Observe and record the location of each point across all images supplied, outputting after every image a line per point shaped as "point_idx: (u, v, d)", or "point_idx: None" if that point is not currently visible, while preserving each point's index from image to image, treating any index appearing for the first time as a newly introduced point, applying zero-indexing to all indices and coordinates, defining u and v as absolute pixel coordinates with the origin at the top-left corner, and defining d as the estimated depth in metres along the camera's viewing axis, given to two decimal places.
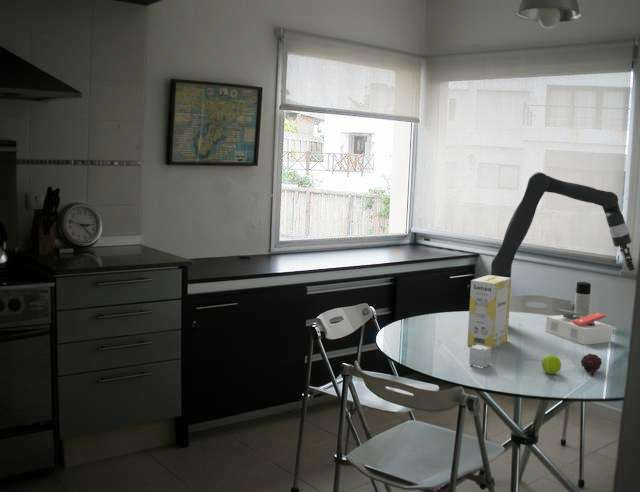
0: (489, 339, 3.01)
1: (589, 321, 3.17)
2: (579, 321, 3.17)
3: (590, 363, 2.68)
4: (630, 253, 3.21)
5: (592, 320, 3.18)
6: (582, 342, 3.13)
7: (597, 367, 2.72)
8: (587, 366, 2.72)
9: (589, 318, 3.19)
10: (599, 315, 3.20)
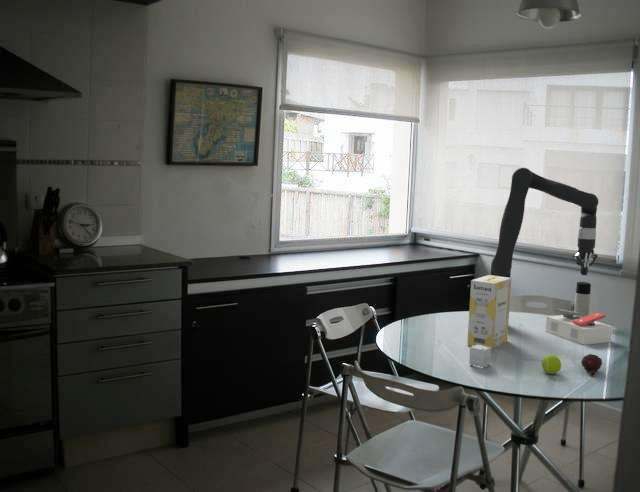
0: (489, 338, 3.01)
1: (589, 321, 3.17)
2: (579, 321, 3.17)
3: (590, 363, 2.68)
4: (584, 259, 3.27)
5: (592, 320, 3.18)
6: (582, 342, 3.13)
7: (597, 367, 2.71)
8: (587, 366, 2.71)
9: (589, 318, 3.19)
10: (599, 315, 3.20)
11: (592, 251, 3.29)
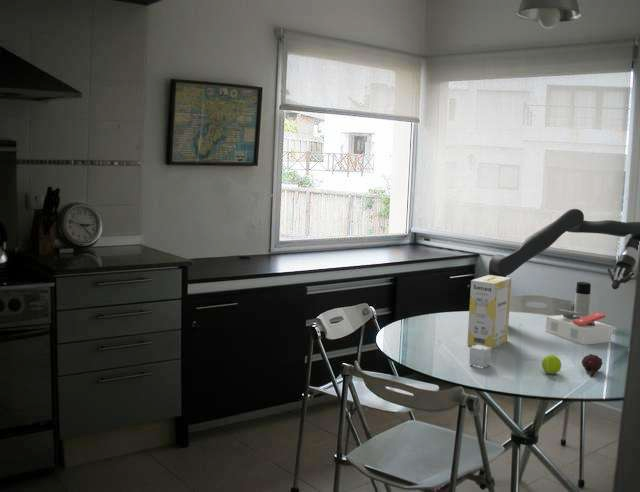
0: (489, 338, 3.01)
1: (589, 321, 3.17)
2: (579, 321, 3.17)
3: (590, 363, 2.68)
4: (615, 273, 3.32)
5: (592, 320, 3.18)
6: (582, 342, 3.13)
7: (598, 367, 2.71)
8: (587, 366, 2.71)
9: (589, 318, 3.19)
10: (599, 315, 3.20)
11: (628, 269, 3.30)
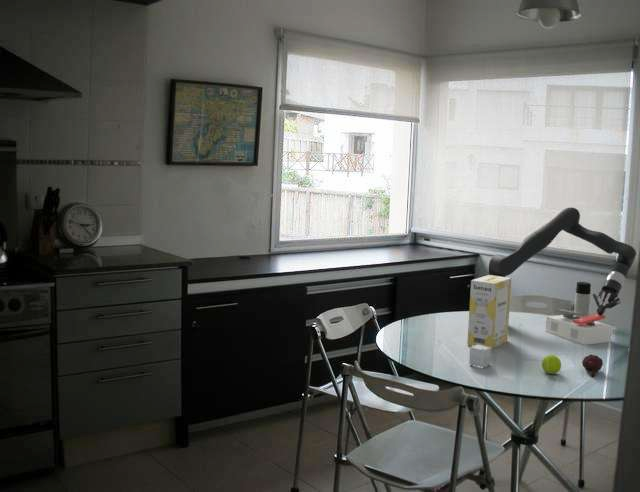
0: (489, 339, 3.01)
1: (589, 321, 3.17)
2: (579, 320, 3.17)
3: (590, 364, 2.67)
4: (601, 298, 3.25)
5: (592, 320, 3.18)
6: (582, 342, 3.13)
7: (598, 368, 2.71)
8: (588, 367, 2.71)
9: (589, 318, 3.19)
10: (599, 316, 3.20)
11: (614, 294, 3.23)
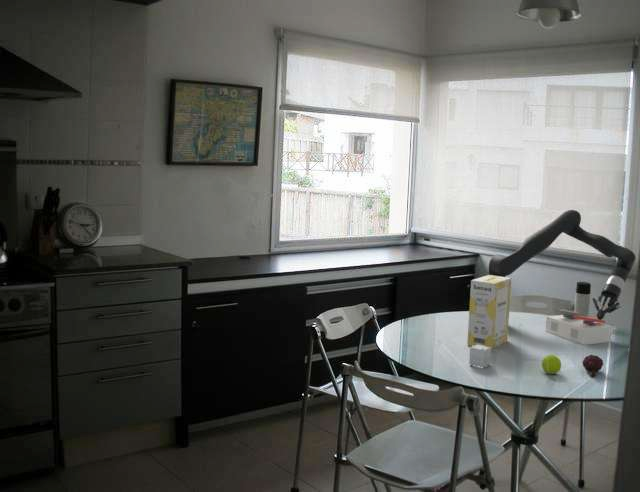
0: (489, 339, 3.01)
1: (589, 319, 3.17)
2: (580, 316, 3.17)
3: (590, 364, 2.67)
4: (600, 302, 3.25)
5: (592, 320, 3.18)
6: (582, 342, 3.13)
7: (598, 368, 2.70)
8: (588, 367, 2.71)
9: None
10: (599, 319, 3.21)
11: (613, 298, 3.23)
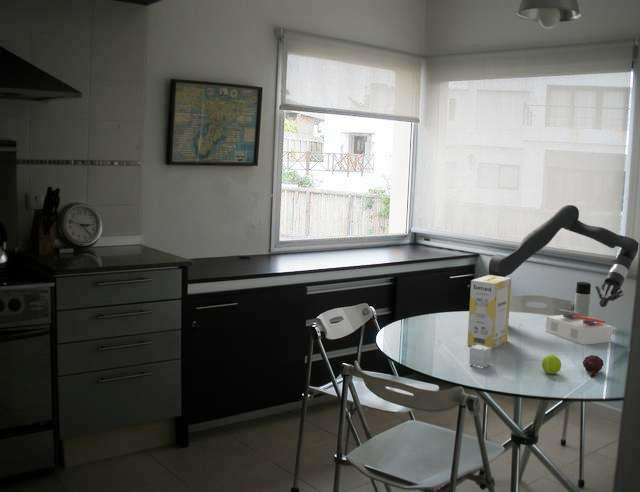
0: (489, 339, 3.01)
1: (589, 319, 3.17)
2: (580, 316, 3.17)
3: (590, 364, 2.67)
4: (603, 290, 3.26)
5: (592, 320, 3.18)
6: (582, 342, 3.13)
7: (598, 368, 2.70)
8: (588, 367, 2.70)
9: None
10: (599, 319, 3.21)
11: (616, 286, 3.24)
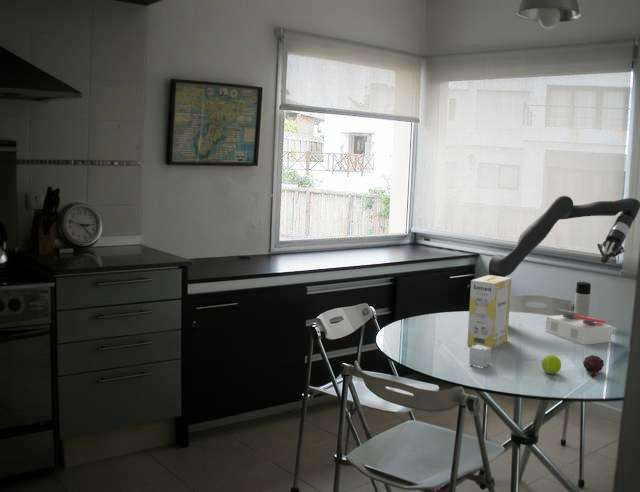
0: (489, 338, 3.01)
1: (589, 319, 3.17)
2: (580, 316, 3.17)
3: (591, 364, 2.67)
4: (605, 247, 3.33)
5: (592, 320, 3.18)
6: (582, 342, 3.13)
7: (598, 369, 2.70)
8: (588, 367, 2.70)
9: None
10: (599, 319, 3.21)
11: (618, 243, 3.31)
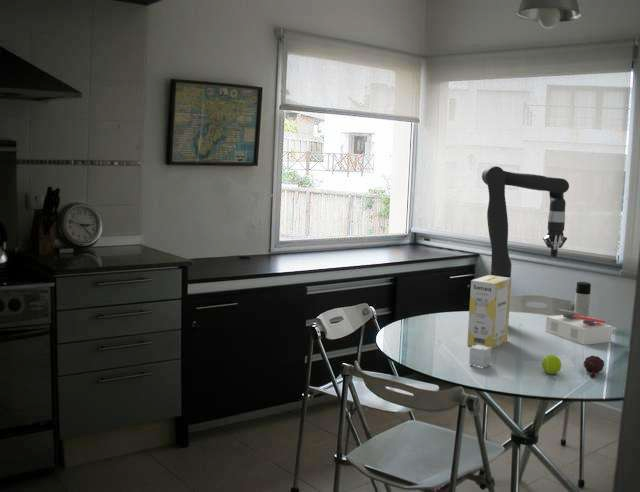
0: (489, 339, 3.01)
1: (589, 319, 3.17)
2: (580, 316, 3.17)
3: (591, 365, 2.66)
4: (554, 242, 3.39)
5: (592, 320, 3.18)
6: (582, 342, 3.13)
7: (599, 369, 2.69)
8: (588, 368, 2.70)
9: None
10: (599, 319, 3.21)
11: (561, 234, 3.41)
